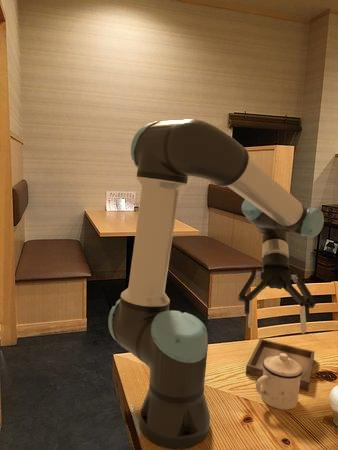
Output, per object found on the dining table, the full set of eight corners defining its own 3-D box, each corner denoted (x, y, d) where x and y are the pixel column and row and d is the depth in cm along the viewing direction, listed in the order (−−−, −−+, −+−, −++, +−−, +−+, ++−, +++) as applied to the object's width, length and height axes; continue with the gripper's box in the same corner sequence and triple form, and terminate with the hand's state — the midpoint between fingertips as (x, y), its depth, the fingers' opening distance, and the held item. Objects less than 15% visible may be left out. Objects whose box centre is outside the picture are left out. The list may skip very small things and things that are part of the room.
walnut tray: (245, 373, 102) (246, 365, 102) (259, 345, 118) (260, 338, 118) (308, 391, 96) (309, 382, 95) (313, 359, 112) (314, 351, 111)
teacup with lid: (279, 384, 98) (284, 342, 96) (306, 405, 90) (312, 360, 88) (242, 395, 93) (246, 351, 91) (268, 418, 85) (273, 371, 83)
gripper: (316, 268, 112) (323, 339, 100) (231, 261, 115) (227, 328, 103) (323, 255, 106) (330, 328, 94) (233, 247, 109) (229, 317, 97)
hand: (276, 328), depth 98 cm, fingers open, 13 cm apart
